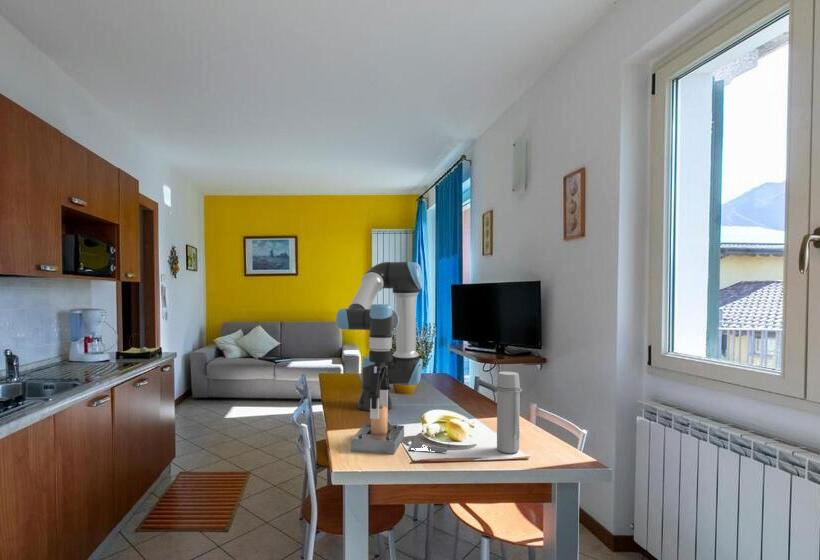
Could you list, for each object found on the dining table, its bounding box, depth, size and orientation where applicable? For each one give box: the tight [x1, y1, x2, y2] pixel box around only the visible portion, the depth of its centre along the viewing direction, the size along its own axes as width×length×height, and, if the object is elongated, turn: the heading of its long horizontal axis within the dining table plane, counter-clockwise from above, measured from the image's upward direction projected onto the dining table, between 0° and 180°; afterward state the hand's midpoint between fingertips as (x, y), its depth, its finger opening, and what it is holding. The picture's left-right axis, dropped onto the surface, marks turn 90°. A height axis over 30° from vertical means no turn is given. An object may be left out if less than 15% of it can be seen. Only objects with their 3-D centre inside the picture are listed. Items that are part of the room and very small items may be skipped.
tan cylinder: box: [370, 404, 389, 436], centre depth 154 cm, size 6×6×13 cm
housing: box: [350, 422, 405, 455], centre depth 154 cm, size 18×14×5 cm
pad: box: [408, 438, 448, 452], centre depth 152 cm, size 12×12×1 cm
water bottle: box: [496, 371, 523, 454], centre depth 148 cm, size 9×8×25 cm
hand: (379, 413), depth 154 cm, fingers open, 13 cm apart
